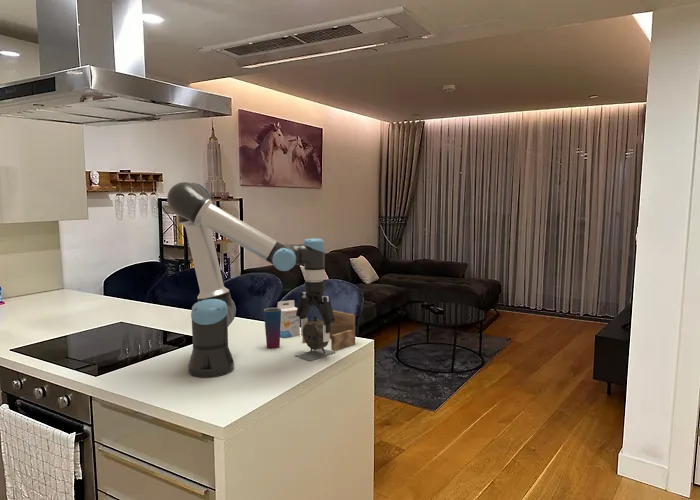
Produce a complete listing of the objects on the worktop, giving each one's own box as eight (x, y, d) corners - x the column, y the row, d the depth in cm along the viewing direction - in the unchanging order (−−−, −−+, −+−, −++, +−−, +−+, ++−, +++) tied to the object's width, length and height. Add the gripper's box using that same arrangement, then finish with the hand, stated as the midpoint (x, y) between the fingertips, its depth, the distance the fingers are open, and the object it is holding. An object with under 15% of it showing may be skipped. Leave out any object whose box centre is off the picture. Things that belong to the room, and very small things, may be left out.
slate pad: (310, 361, 176) (310, 360, 176) (295, 356, 182) (295, 355, 181) (335, 353, 186) (335, 352, 186) (320, 348, 191) (320, 347, 191)
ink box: (282, 338, 206) (281, 303, 205) (277, 335, 210) (276, 301, 209) (300, 335, 211) (299, 301, 209) (295, 332, 215) (294, 299, 213)
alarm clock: (330, 353, 181) (330, 310, 180) (318, 356, 178) (318, 312, 176) (311, 347, 189) (311, 305, 188) (300, 349, 186) (300, 307, 184)
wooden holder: (334, 351, 188) (333, 320, 187) (302, 342, 200) (302, 313, 199) (355, 344, 197) (355, 314, 196) (324, 335, 209) (323, 308, 208)
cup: (285, 346, 195) (284, 309, 193) (273, 350, 189) (272, 312, 188) (272, 343, 199) (272, 307, 197) (260, 347, 193) (260, 310, 192)
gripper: (344, 282, 176) (345, 342, 178) (300, 276, 191) (301, 330, 194) (330, 285, 170) (330, 346, 172) (286, 278, 186) (286, 334, 188)
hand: (315, 338), depth 183 cm, fingers closed on alarm clock, 11 cm apart
